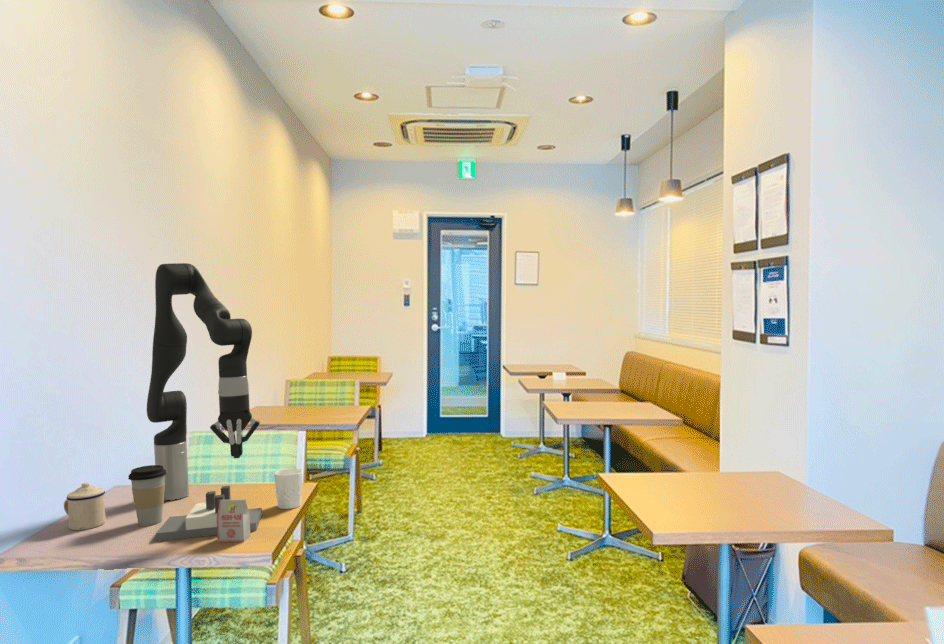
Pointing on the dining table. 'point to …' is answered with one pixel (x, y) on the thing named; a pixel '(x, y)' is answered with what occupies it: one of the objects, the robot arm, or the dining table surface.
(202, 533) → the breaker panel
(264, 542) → the dining table surface
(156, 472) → the coffee cup
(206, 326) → the robot arm
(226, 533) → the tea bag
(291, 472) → the white cup
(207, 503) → the handle
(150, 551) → the dining table surface
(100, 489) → the teacup with lid
